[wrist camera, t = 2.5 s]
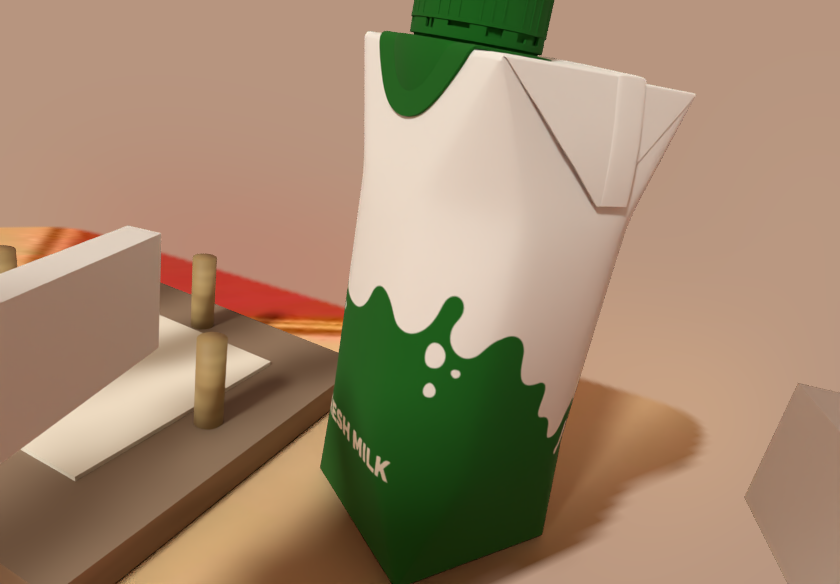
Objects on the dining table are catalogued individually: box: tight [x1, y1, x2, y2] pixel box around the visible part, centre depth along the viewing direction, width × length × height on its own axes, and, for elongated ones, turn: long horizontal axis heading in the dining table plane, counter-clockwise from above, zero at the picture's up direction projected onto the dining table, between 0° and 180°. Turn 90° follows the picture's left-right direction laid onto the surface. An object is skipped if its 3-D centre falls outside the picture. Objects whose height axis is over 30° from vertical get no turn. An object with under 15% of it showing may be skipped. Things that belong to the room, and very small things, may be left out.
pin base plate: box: [0, 245, 339, 584], centre depth 28 cm, size 18×18×6 cm
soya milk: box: [320, 0, 696, 584], centre depth 22 cm, size 9×9×20 cm
